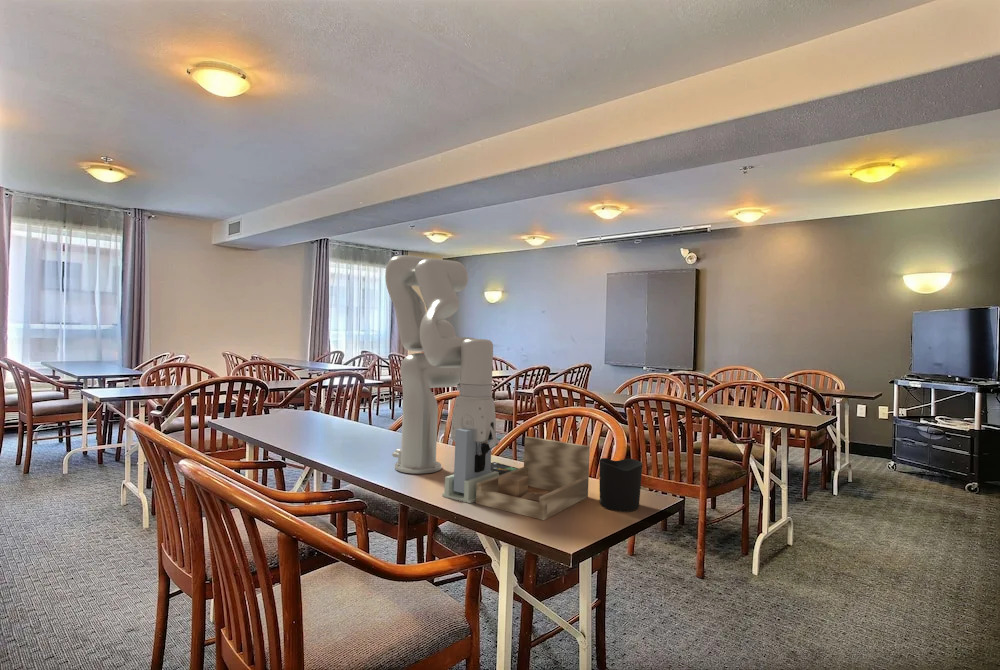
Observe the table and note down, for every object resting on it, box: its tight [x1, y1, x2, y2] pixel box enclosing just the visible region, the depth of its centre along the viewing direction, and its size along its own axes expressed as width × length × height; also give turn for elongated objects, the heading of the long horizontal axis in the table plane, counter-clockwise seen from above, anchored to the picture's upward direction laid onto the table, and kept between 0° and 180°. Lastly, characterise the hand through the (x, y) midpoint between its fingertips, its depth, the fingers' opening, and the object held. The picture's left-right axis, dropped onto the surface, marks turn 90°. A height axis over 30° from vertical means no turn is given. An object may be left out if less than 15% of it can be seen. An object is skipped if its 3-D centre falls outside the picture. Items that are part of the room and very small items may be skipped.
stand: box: [441, 471, 499, 504], centre depth 130 cm, size 8×12×5 cm, turn 146°
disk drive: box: [490, 461, 520, 475], centre depth 145 cm, size 10×3×15 cm
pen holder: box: [599, 457, 643, 513], centre depth 125 cm, size 9×9×10 cm
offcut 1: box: [498, 473, 529, 495], centre depth 124 cm, size 5×5×3 cm
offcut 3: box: [521, 491, 545, 502], centre depth 120 cm, size 5×5×3 cm
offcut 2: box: [497, 490, 529, 498], centre depth 124 cm, size 5×5×3 cm
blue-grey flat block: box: [453, 429, 492, 493], centre depth 130 cm, size 3×10×14 cm, turn 146°
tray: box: [475, 436, 591, 521], centre depth 127 cm, size 17×21×12 cm
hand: (472, 469), depth 130 cm, fingers closed on blue-grey flat block, 3 cm apart
